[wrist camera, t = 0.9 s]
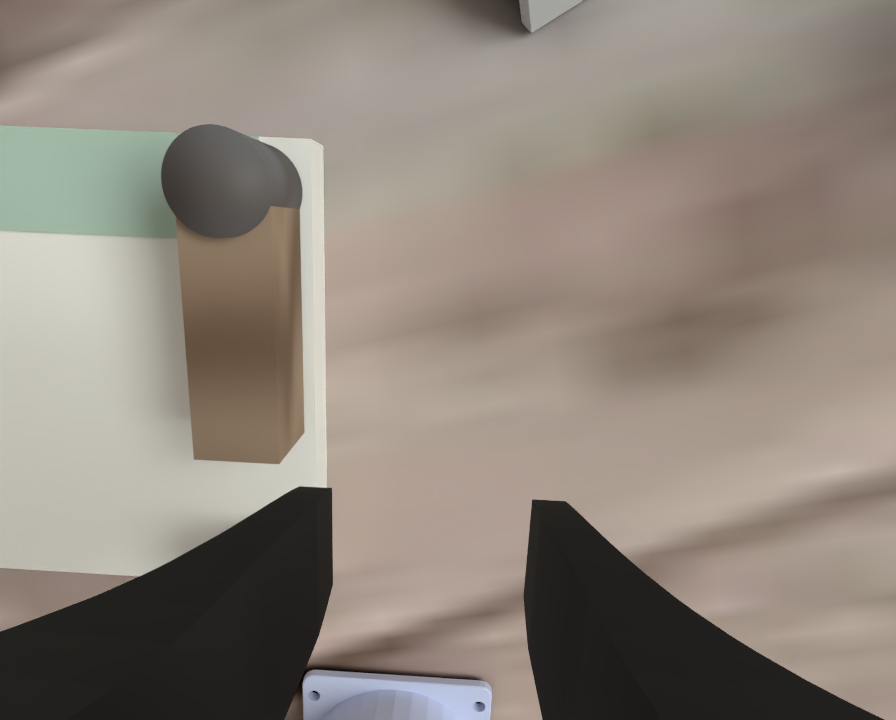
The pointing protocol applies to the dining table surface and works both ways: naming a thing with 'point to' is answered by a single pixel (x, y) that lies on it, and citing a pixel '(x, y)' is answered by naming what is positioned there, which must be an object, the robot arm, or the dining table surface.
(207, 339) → the hammer
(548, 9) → the hinge
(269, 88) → the dining table surface
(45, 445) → the stool seat
